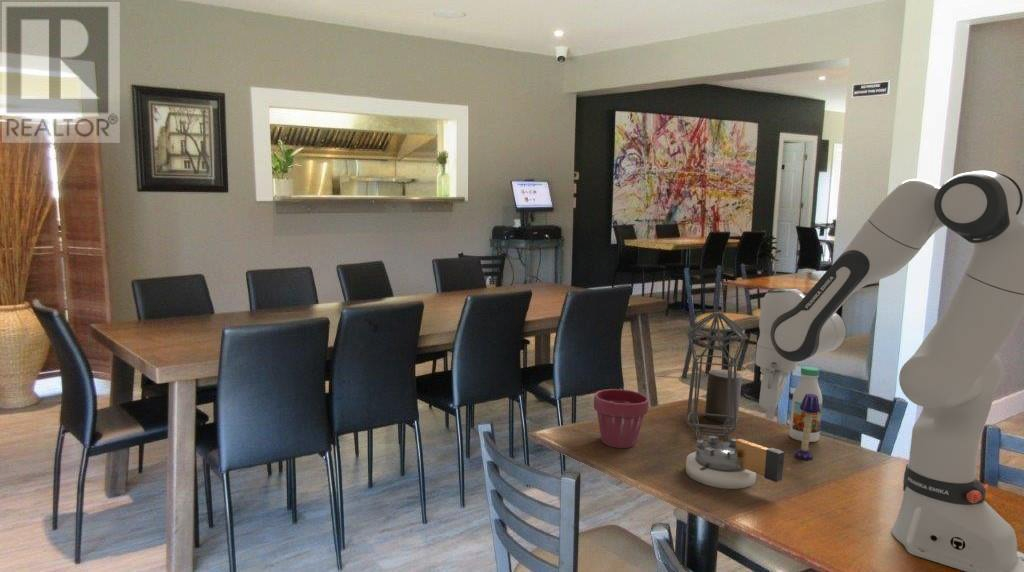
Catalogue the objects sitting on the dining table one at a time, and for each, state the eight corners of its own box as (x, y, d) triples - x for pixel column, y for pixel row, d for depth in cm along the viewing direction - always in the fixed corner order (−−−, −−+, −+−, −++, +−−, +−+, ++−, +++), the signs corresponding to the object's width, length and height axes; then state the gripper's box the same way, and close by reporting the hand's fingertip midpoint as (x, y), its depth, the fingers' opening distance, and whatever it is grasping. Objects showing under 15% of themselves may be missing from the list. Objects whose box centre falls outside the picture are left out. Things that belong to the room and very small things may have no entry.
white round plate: (769, 478, 165) (770, 465, 165) (729, 494, 155) (730, 481, 155) (712, 457, 177) (713, 445, 177) (672, 471, 167) (672, 458, 167)
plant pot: (645, 435, 192) (647, 390, 190) (646, 454, 178) (649, 405, 177) (593, 431, 194) (595, 386, 192) (590, 449, 180) (593, 401, 179)
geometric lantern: (680, 442, 187) (687, 314, 183) (683, 426, 202) (689, 306, 198) (742, 449, 183) (750, 318, 179) (740, 432, 198) (748, 310, 194)
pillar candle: (705, 420, 206) (709, 371, 204) (704, 410, 216) (708, 363, 214) (739, 424, 204) (744, 374, 202) (737, 414, 214) (741, 366, 211)
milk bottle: (783, 435, 196) (788, 365, 193) (803, 431, 199) (809, 363, 196) (804, 444, 189) (811, 372, 186) (825, 440, 192) (831, 370, 189)
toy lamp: (811, 454, 181) (817, 392, 179) (817, 461, 176) (823, 398, 174) (792, 453, 182) (798, 391, 179) (798, 460, 177) (803, 396, 175)
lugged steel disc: (684, 459, 167) (686, 430, 166) (714, 449, 174) (716, 421, 173) (763, 489, 151) (766, 458, 150) (793, 477, 158) (796, 447, 157)
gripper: (786, 371, 147) (780, 433, 149) (794, 351, 165) (788, 407, 167) (755, 366, 150) (749, 427, 152) (766, 348, 168) (761, 403, 170)
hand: (770, 417), depth 160 cm, fingers closed
